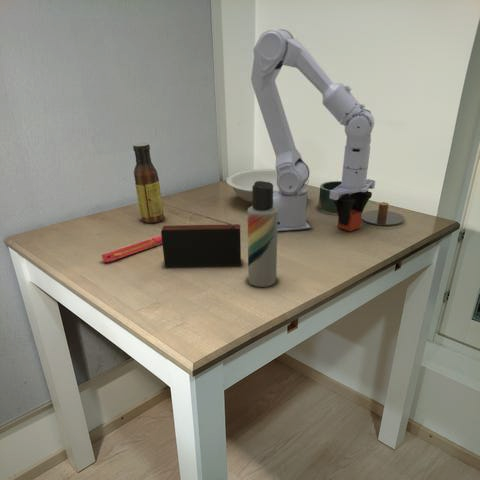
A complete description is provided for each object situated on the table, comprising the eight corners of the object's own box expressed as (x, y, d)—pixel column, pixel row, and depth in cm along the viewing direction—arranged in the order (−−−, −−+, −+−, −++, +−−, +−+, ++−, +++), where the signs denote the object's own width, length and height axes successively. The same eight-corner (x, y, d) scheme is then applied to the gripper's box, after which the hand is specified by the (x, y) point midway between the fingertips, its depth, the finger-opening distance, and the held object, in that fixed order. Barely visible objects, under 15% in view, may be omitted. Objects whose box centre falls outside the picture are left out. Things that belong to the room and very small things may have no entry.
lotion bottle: (259, 272, 99) (259, 177, 89) (281, 279, 96) (284, 181, 86) (242, 282, 96) (240, 183, 85) (265, 290, 93) (265, 189, 82)
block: (349, 231, 116) (351, 215, 114) (337, 227, 119) (338, 211, 117) (360, 227, 118) (362, 212, 116) (347, 223, 121) (349, 208, 119)
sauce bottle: (166, 216, 131) (158, 141, 120) (161, 224, 126) (152, 146, 115) (143, 216, 132) (133, 141, 121) (137, 223, 126) (126, 146, 116)
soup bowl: (215, 211, 134) (214, 188, 130) (240, 187, 153) (240, 166, 150) (299, 218, 128) (300, 193, 124) (313, 192, 147) (315, 171, 144)
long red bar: (100, 263, 107) (109, 263, 103) (97, 254, 106) (106, 253, 103) (183, 234, 121) (193, 233, 118) (180, 226, 120) (191, 225, 117)
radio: (240, 260, 105) (239, 193, 97) (240, 266, 102) (239, 198, 95) (157, 261, 105) (149, 195, 97) (155, 267, 103) (147, 199, 95)
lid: (369, 230, 119) (372, 212, 117) (353, 215, 128) (355, 198, 126) (411, 226, 120) (414, 208, 118) (392, 212, 130) (394, 195, 127)
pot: (325, 216, 129) (327, 193, 125) (314, 204, 137) (315, 182, 134) (361, 213, 130) (364, 190, 126) (348, 202, 139) (350, 180, 135)
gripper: (348, 175, 104) (342, 233, 111) (388, 164, 112) (380, 219, 119) (324, 169, 109) (320, 225, 116) (364, 159, 116) (357, 212, 124)
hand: (349, 222), depth 118 cm, fingers closed on block, 4 cm apart
